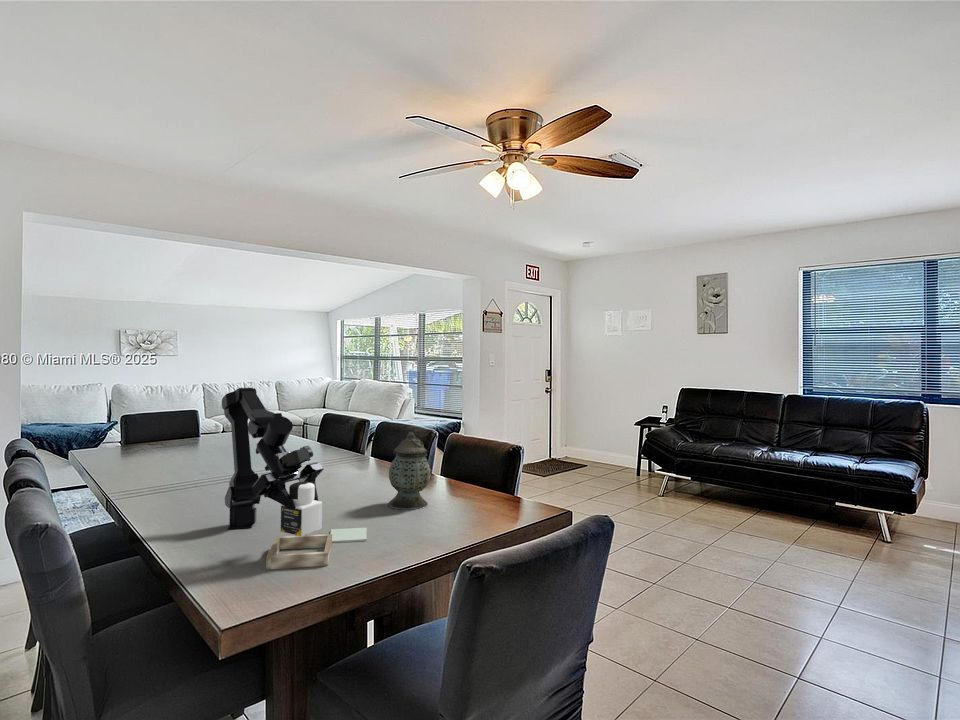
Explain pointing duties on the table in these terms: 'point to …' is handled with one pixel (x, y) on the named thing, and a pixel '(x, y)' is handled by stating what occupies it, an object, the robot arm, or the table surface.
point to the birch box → (299, 559)
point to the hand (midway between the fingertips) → (305, 505)
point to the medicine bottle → (302, 511)
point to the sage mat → (349, 535)
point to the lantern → (409, 474)
